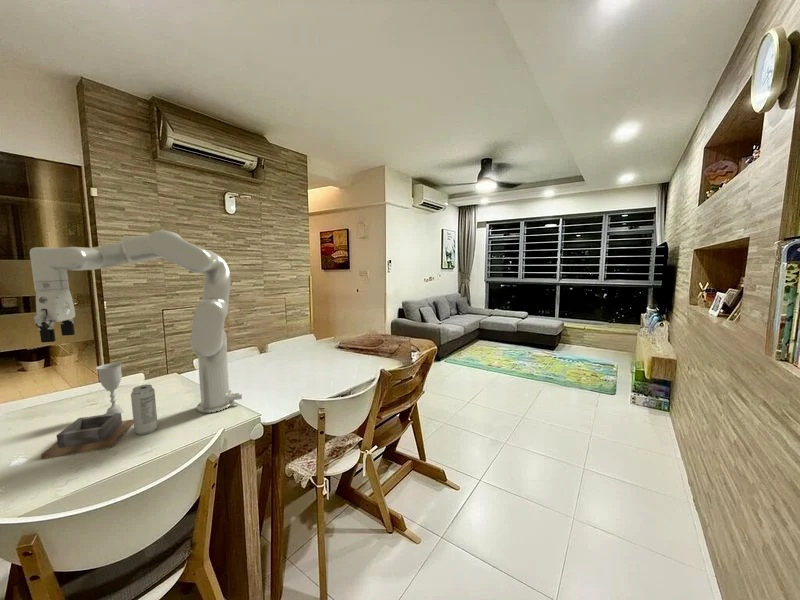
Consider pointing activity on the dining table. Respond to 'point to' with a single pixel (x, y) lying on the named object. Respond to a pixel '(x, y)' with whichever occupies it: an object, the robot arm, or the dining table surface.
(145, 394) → the energy drink can
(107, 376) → the chalice
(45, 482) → the dining table surface
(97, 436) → the socket block
